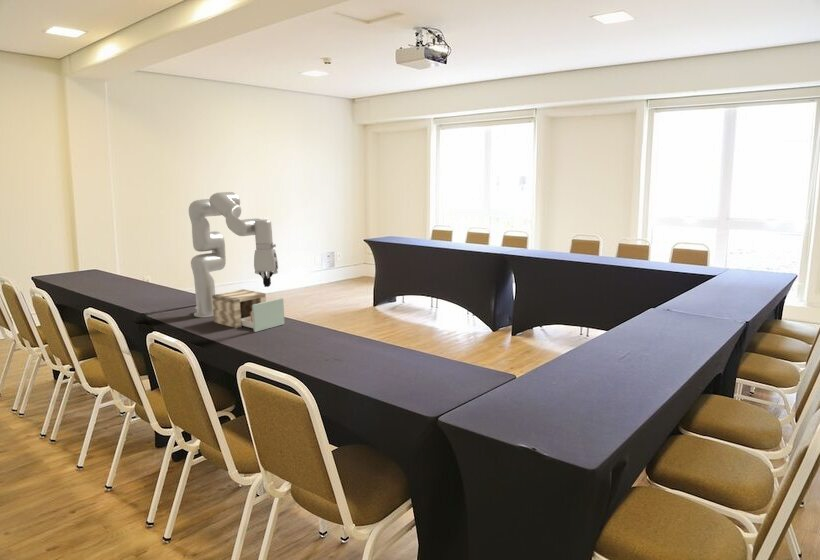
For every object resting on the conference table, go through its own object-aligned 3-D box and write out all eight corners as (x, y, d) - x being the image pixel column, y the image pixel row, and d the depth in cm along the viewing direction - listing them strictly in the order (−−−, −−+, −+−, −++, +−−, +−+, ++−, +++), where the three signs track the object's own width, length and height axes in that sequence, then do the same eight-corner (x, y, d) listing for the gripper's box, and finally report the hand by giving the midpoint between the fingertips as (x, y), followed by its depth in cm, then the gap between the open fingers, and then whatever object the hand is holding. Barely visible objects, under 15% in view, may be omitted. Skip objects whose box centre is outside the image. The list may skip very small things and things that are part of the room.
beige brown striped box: (214, 322, 282) (212, 295, 279) (245, 314, 296) (243, 289, 293) (236, 328, 271) (234, 300, 268) (267, 320, 285) (265, 293, 282)
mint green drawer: (232, 326, 273) (230, 300, 271) (261, 318, 286) (260, 294, 284) (255, 331, 263) (253, 305, 260) (284, 323, 276) (283, 298, 273)
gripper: (283, 245, 265) (285, 284, 268) (252, 245, 267) (255, 284, 270) (277, 247, 258) (279, 287, 261) (245, 248, 260) (248, 287, 263)
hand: (267, 286), depth 266 cm, fingers closed
